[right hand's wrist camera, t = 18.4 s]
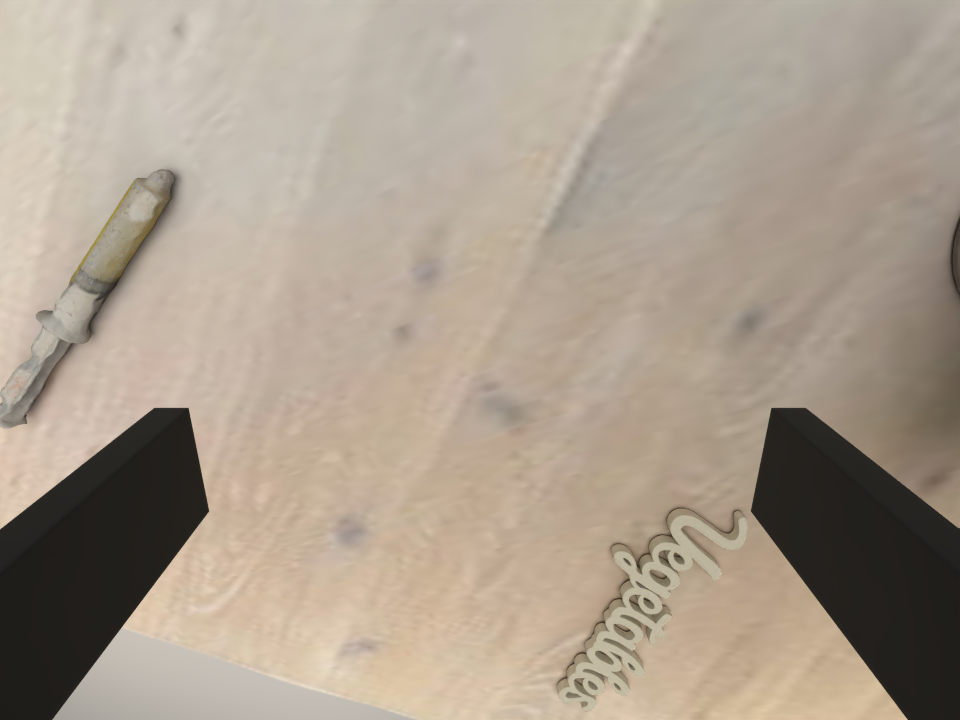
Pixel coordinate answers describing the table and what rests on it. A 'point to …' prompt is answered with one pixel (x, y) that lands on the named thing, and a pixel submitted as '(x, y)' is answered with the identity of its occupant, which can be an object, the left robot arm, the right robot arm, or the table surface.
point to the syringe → (86, 292)
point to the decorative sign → (642, 605)
